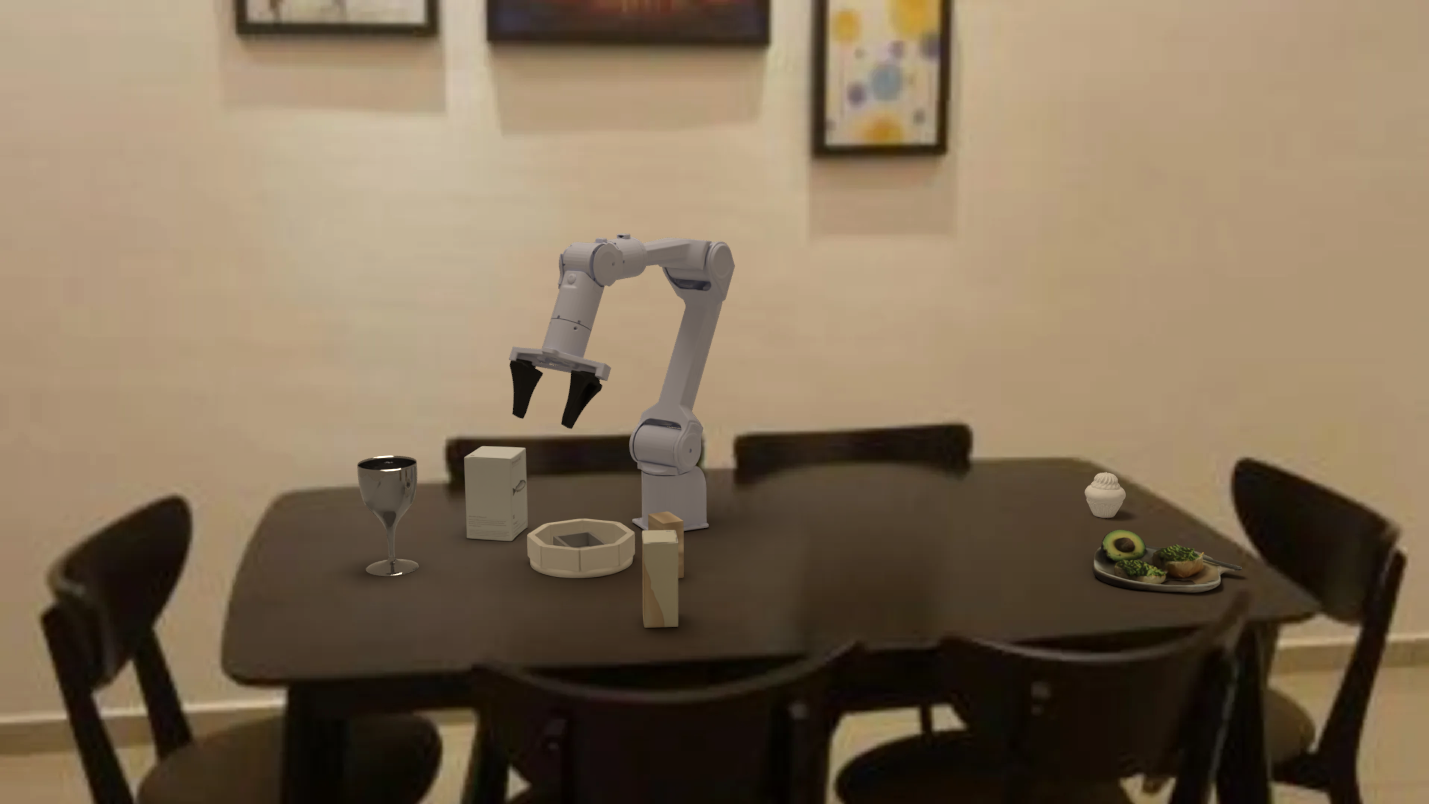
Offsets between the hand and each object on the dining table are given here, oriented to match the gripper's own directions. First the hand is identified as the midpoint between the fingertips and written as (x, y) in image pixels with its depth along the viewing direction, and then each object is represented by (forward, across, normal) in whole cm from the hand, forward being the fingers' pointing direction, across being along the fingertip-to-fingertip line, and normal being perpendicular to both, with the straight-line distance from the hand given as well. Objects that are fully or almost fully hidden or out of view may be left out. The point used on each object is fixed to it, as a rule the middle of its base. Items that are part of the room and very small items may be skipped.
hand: (541, 421), depth 183 cm
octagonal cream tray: (+16, +3, +16) cm, 23 cm away
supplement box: (+15, -15, +22) cm, 30 cm away
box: (+22, +24, +1) cm, 32 cm away
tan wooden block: (+15, +16, +16) cm, 27 cm away
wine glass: (+24, -19, +5) cm, 31 cm away
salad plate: (-3, +76, +39) cm, 86 cm away
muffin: (-14, +66, +62) cm, 91 cm away
